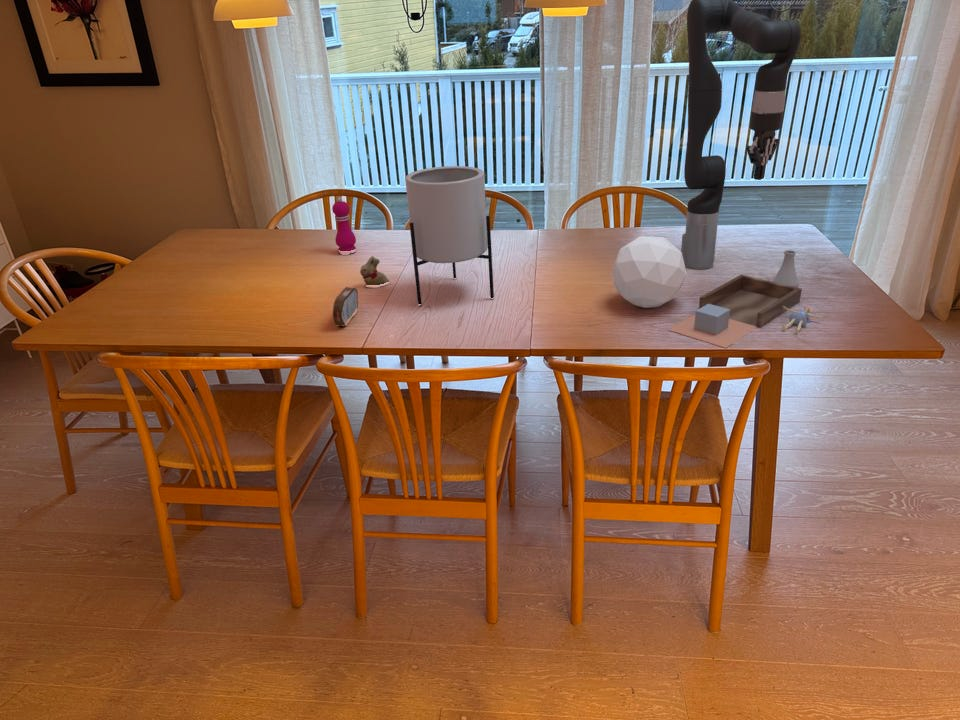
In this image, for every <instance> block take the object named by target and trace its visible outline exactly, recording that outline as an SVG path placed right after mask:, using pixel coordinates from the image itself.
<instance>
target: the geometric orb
mask: <svg viewBox="0 0 960 720" xmlns="http://www.w3.org/2000/svg"><path fill="white" fill-rule="evenodd" d="M686 269H687V267H686V266H685V264H684V260H683V256H682V252H681V249H679V248H677V247H676V246H675V245H673V244H672V243H671V242H670V241H669V240H667V239H666V238H665V237H663V236H659V237H658V236H644V235H642V236H641V235H640V236H638V237H636V238H635V239H633V240H632V241H631V242H629V243H627V244H626V245H624V246H622V247H621V248H620V249H619V251H618V254H617V256H616V259H615V261H614V264H613V266H612V269H611V270H612V278H613V279H612V280H613V284H614V287H615V289H616V290H617V291H616V292H618V293H619V294H620V295H621V296H622V297H623V298H624V300H626V301H627V302H629V303H630V304H632V305H634V306H636V307H640V308H646V309H647V308H650V309H651V308H659V307H661V306H662V305H664V304H666V303H667V302H669V301H672V300H673V299H674V298H676V297H678V296H679V293H680V291H681V289H682V286H683V285H684V283H685V280H686V279H687V278H686V277H687V276H688V273H687V270H686Z"/></svg>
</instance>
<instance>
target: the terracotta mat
mask: <svg viewBox="0 0 960 720" xmlns="http://www.w3.org/2000/svg"><path fill="white" fill-rule="evenodd" d="M694 324H695V314H693V315H691V316H690V317H688V318H686V319H684V320H683V321H681V322H679V323H678V324H675V325H673V326H672V327H670V328H669V329H668V331H669V332H672V333H675V334H680V335H682V336H685V337H688V338H691V339H695V340H699V341H701V342H705V343H707V344H709V345H714V346H716V347H720V348H724V349H728V348H729V347H730V346H732V345H734V343H736V342H737V341H738V340H740V339H742V338H744V337H745V336H747V335H748V334H749V333H751V332H752V331H754V330H756V329H757V328H758V327H756V326H753V325H749V324H746V323H742V322H739V321H735V320H732V319H729V324H728V328H727V329H725V330H724V331H722V332H720V333H719V334H717V335H712V334H709V333H706V332H703V331H699V330H696V329H694Z"/></svg>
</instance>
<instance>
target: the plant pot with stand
mask: <svg viewBox="0 0 960 720" xmlns="http://www.w3.org/2000/svg"><path fill="white" fill-rule="evenodd" d="M404 182H405V188H406V198H407V205H408V207H407V208H408V215H409V232H410V241H411V242H410V243H411V249H412V259H413V260H412V261H413V270H414V277H415V287H416V297H417V305H418V304H422V293H421V284H420V275H419V266H421V265H425V264H427V263H434V264H452V265H451V266H452V274H453V275H452V276H453V279H454V278H456V279H457V270H456V269H457V268H456V263H462V262H466V261H471V260H473V259H485V260H486V259H487V260H488V262H487V263H488V274H489V275H488V277H489V279H488V281H489V296H490V297H491V298H493V297H494V298H495V293H494V273H493V272H494V269H493V251H492V236H491V235H492V233H491V232H492V231H491V217H490V216H491V215H487V208H486V207H487V206H486V205H487V203H486V187H485V186H486V185H485V183H486V182H485V172H484V170H483V169H481V168H478V167H474V166H467V165H466V166H465V165H446V166H445V165H444V166H434V167H429V168H423V169H419V170H414V171H413V172H410V173H408V174H407V175H406V176H405V181H404ZM486 251H487V254H485V252H486ZM418 259H419V261H418ZM422 305H423V304H422Z"/></svg>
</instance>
